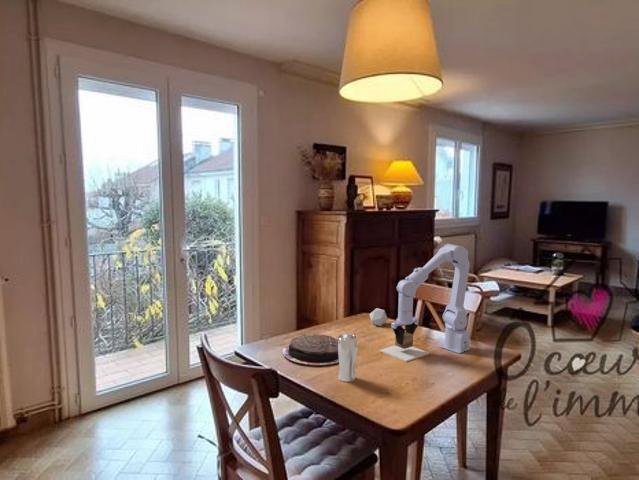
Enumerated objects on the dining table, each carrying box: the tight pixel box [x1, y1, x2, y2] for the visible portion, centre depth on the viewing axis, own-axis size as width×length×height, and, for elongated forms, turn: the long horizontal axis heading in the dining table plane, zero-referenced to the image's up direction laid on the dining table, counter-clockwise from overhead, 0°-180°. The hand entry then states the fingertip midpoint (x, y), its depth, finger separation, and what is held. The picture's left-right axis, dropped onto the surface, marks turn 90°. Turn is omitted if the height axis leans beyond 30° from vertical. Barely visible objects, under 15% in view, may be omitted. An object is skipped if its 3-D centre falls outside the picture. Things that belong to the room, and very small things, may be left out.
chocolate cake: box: [281, 333, 339, 368], centre depth 170 cm, size 28×28×7 cm
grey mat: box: [379, 344, 430, 363], centre depth 172 cm, size 14×14×1 cm
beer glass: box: [337, 333, 358, 383], centre depth 146 cm, size 7×7×15 cm
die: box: [369, 307, 389, 327], centre depth 209 cm, size 8×9×10 cm
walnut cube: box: [394, 331, 414, 349], centre depth 171 cm, size 5×5×5 cm
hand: (404, 342), depth 171 cm, fingers closed on walnut cube, 5 cm apart
